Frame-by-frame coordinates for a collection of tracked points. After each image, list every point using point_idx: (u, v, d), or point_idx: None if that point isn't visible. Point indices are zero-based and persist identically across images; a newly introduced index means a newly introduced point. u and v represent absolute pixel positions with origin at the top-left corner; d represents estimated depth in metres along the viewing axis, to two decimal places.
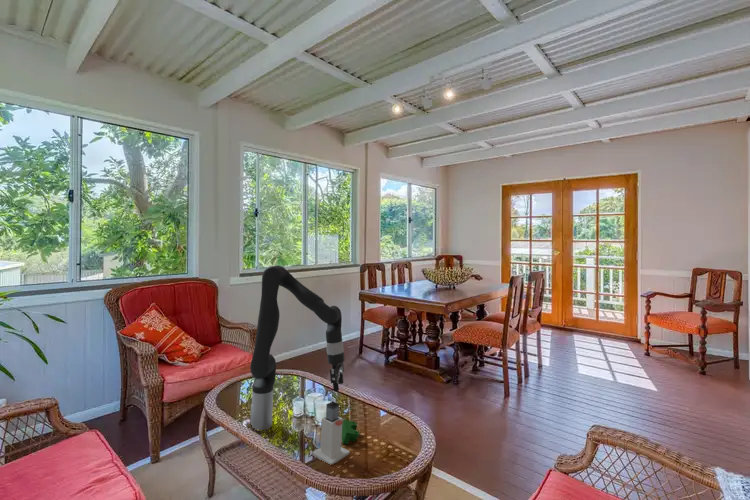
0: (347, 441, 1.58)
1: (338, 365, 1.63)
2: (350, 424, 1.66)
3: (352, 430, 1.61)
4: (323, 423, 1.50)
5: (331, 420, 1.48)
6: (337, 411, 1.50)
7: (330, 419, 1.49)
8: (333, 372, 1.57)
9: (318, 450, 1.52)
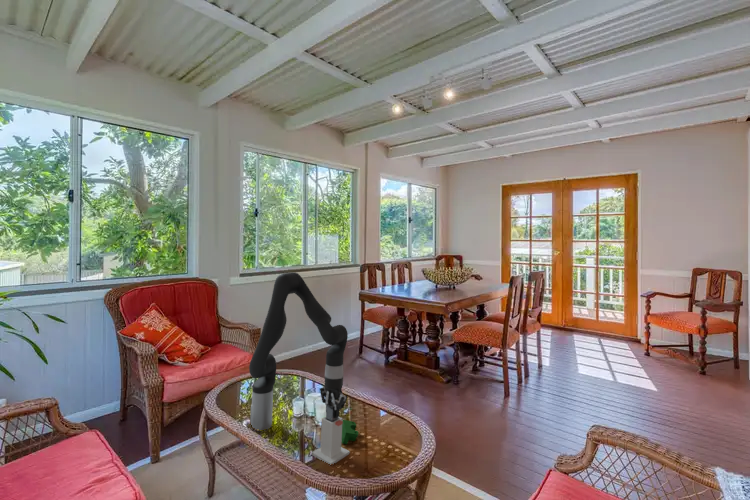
0: (346, 441, 1.58)
1: None
2: (349, 424, 1.66)
3: (351, 430, 1.61)
4: (323, 423, 1.50)
5: (331, 420, 1.48)
6: None
7: (330, 419, 1.49)
8: (345, 399, 1.47)
9: (318, 450, 1.52)
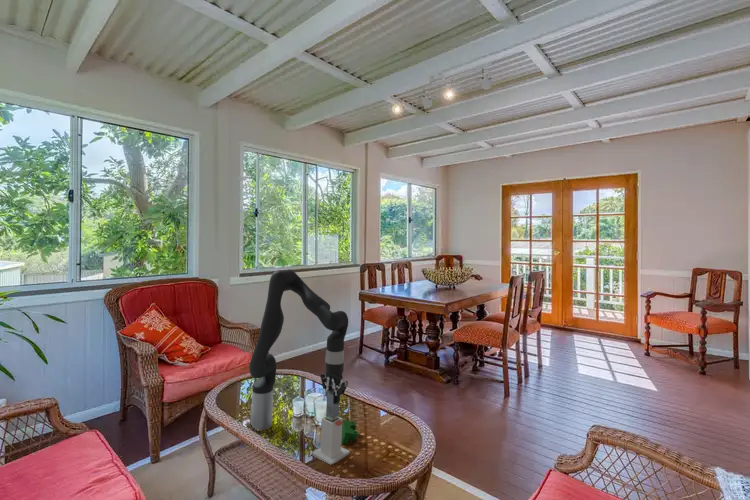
0: (346, 441, 1.58)
1: None
2: (349, 424, 1.66)
3: (351, 430, 1.61)
4: (323, 423, 1.50)
5: (332, 406, 1.48)
6: None
7: (331, 405, 1.49)
8: (345, 385, 1.46)
9: (318, 450, 1.52)
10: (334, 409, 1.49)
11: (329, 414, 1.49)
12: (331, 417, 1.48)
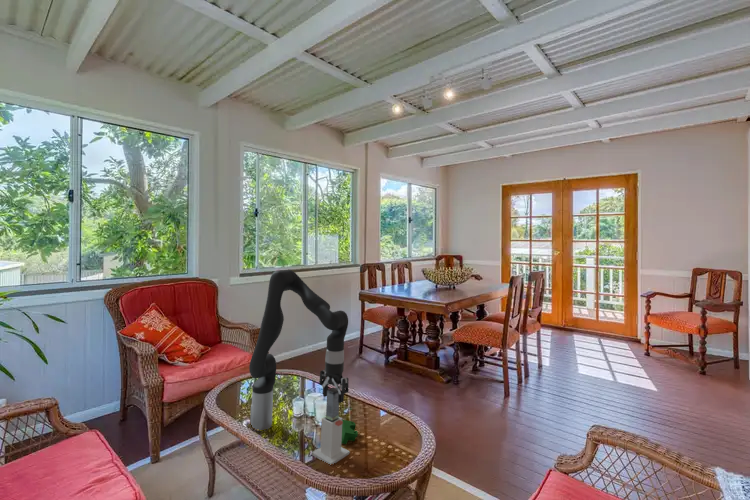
0: (345, 441, 1.58)
1: None
2: (349, 424, 1.66)
3: (351, 430, 1.61)
4: (323, 423, 1.50)
5: (332, 406, 1.48)
6: None
7: (331, 405, 1.49)
8: (346, 381, 1.46)
9: (318, 450, 1.52)
10: (334, 409, 1.49)
11: (329, 414, 1.49)
12: (331, 417, 1.48)
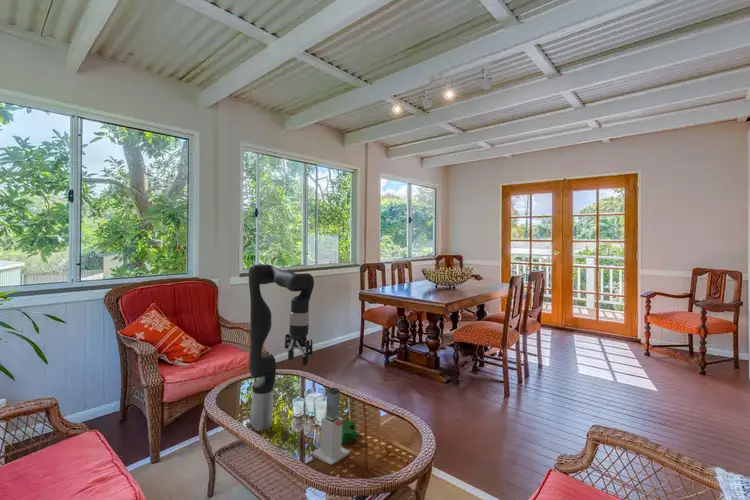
0: (345, 441, 1.58)
1: None
2: (348, 424, 1.66)
3: (350, 430, 1.61)
4: (323, 423, 1.50)
5: (332, 406, 1.48)
6: (338, 397, 1.50)
7: (331, 405, 1.49)
8: (310, 343, 1.44)
9: (318, 450, 1.52)
10: (334, 409, 1.49)
11: (329, 414, 1.49)
12: (331, 417, 1.48)
